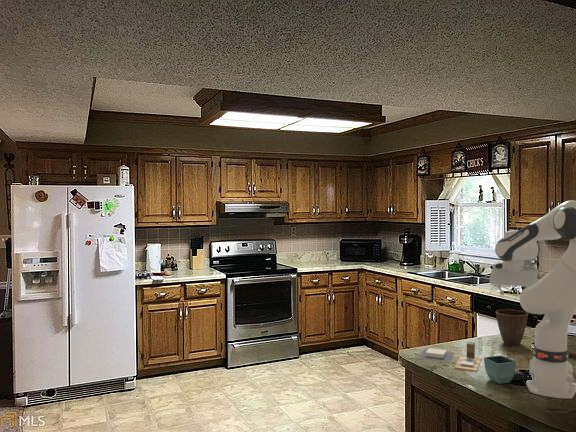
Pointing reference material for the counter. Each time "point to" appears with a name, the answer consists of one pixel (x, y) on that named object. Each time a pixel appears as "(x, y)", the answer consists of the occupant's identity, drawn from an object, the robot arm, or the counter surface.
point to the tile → (436, 353)
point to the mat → (446, 359)
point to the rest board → (474, 368)
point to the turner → (469, 355)
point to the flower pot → (499, 369)
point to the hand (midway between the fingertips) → (513, 295)
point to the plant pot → (511, 325)
